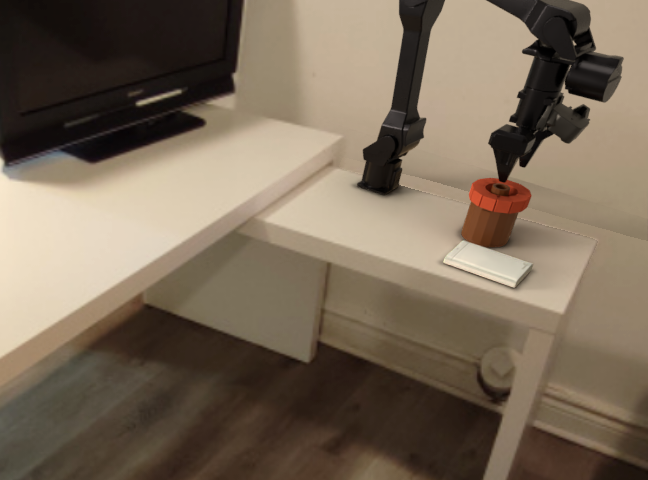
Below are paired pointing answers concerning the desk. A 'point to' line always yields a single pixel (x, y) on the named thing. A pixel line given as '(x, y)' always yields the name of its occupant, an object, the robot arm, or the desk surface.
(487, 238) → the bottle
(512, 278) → the hard drive
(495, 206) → the orange faceted ring
